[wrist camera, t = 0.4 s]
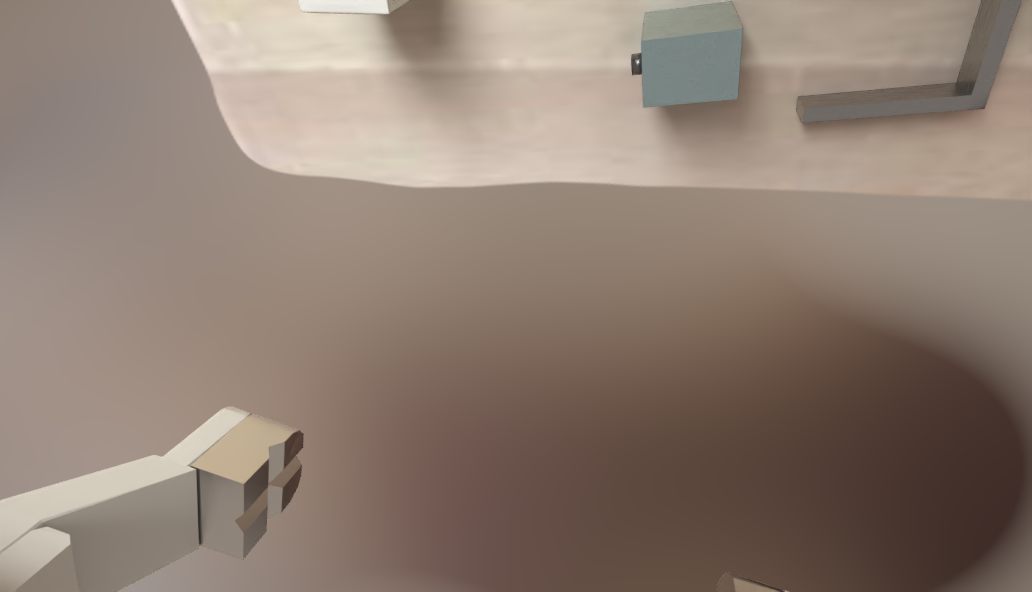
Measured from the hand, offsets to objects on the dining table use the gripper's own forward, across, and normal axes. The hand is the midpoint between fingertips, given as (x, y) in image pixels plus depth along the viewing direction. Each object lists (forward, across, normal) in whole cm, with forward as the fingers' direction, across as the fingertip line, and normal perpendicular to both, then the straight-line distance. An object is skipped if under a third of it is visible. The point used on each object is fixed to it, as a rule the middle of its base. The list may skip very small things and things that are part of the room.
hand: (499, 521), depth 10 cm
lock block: (+48, -3, -11) cm, 49 cm away
